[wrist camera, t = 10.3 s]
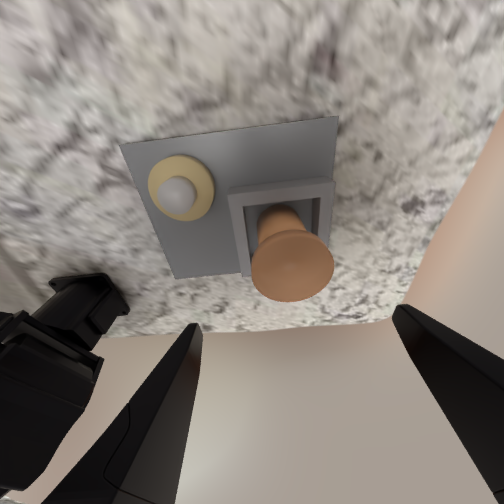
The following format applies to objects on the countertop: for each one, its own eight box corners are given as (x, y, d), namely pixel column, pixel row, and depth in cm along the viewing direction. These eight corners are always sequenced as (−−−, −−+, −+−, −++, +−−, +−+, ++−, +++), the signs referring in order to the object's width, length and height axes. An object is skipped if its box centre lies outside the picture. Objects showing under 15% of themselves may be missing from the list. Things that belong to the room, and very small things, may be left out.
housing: (178, 273, 23) (166, 299, 19) (125, 143, 16) (92, 150, 12) (320, 258, 22) (334, 283, 19) (333, 116, 15) (358, 114, 12)
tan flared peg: (253, 251, 20) (255, 305, 14) (246, 201, 17) (246, 242, 11) (305, 246, 20) (329, 298, 14) (307, 194, 17) (339, 232, 11)
